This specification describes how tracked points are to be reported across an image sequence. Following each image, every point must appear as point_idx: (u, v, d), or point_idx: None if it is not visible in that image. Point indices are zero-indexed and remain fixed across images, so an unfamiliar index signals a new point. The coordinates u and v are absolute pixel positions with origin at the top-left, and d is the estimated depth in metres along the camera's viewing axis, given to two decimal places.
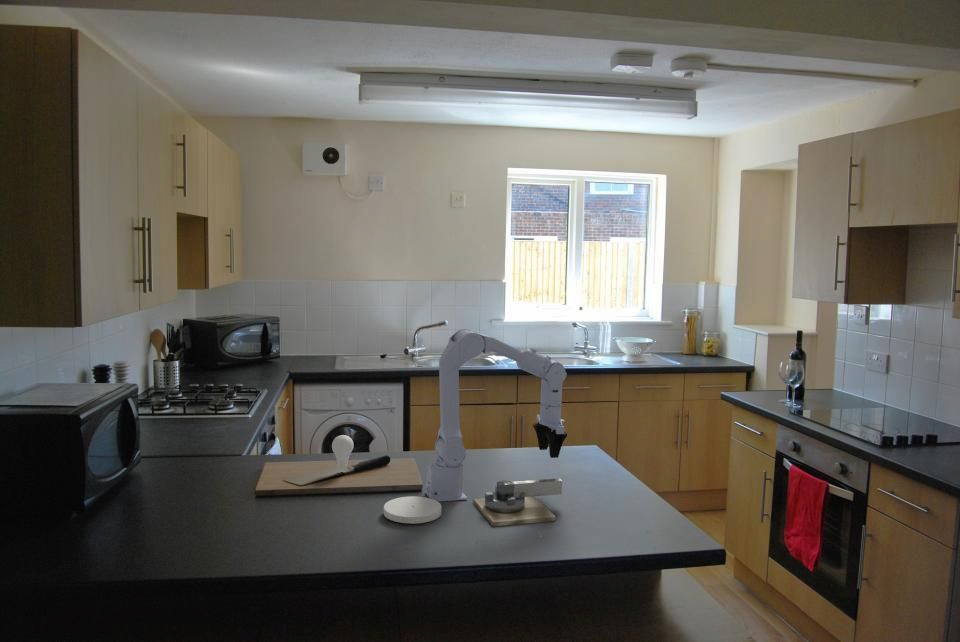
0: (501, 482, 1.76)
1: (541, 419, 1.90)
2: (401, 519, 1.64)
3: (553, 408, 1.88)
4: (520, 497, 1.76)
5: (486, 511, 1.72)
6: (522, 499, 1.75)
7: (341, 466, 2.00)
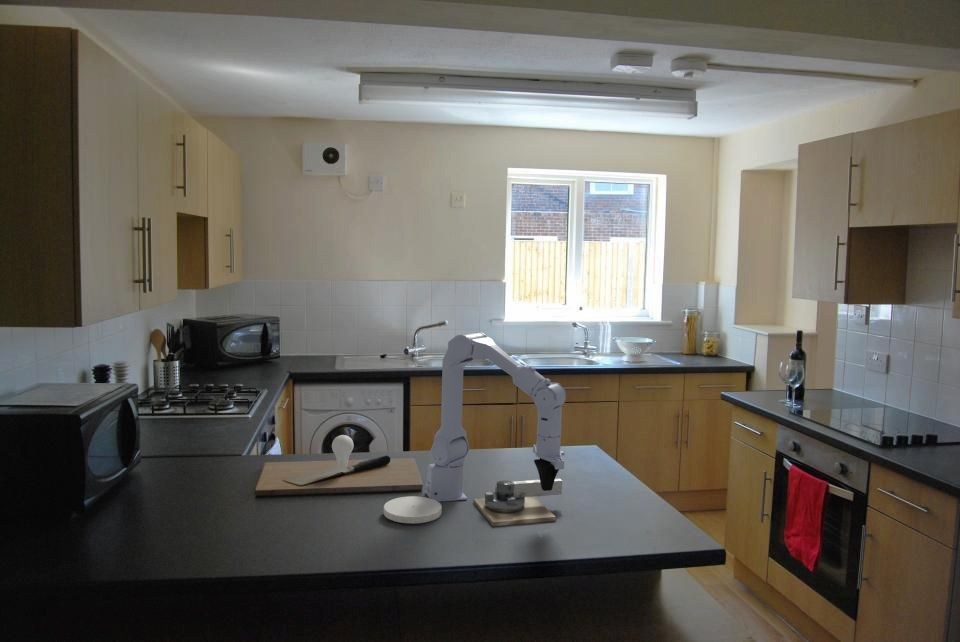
0: (501, 482, 1.76)
1: (538, 451, 1.67)
2: (401, 519, 1.64)
3: (551, 439, 1.65)
4: (520, 497, 1.76)
5: (486, 511, 1.72)
6: (522, 499, 1.75)
7: (341, 466, 2.00)
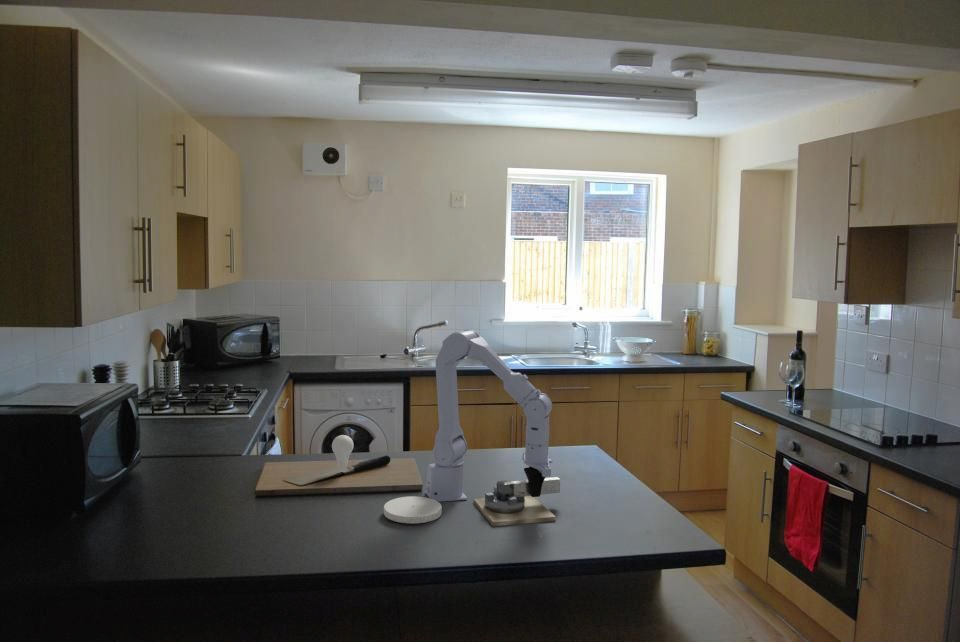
0: (501, 482, 1.76)
1: (526, 459, 1.74)
2: (401, 519, 1.64)
3: (539, 448, 1.73)
4: (520, 497, 1.76)
5: (486, 511, 1.72)
6: (522, 498, 1.75)
7: (341, 466, 2.00)
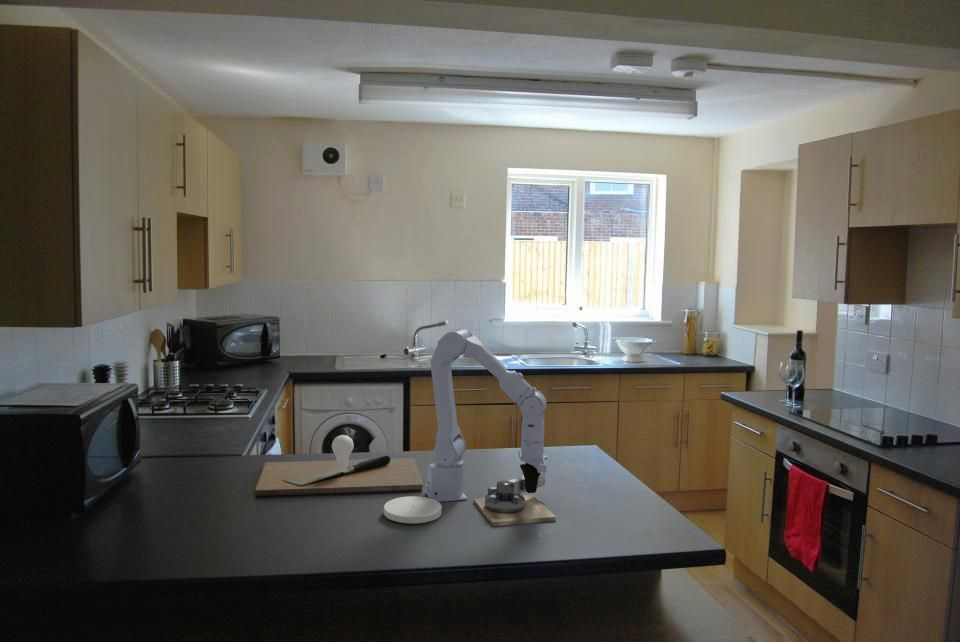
0: (500, 482, 1.76)
1: (522, 456, 1.77)
2: (401, 519, 1.64)
3: (535, 444, 1.75)
4: (517, 494, 1.78)
5: (486, 511, 1.72)
6: (520, 496, 1.77)
7: (341, 466, 2.00)
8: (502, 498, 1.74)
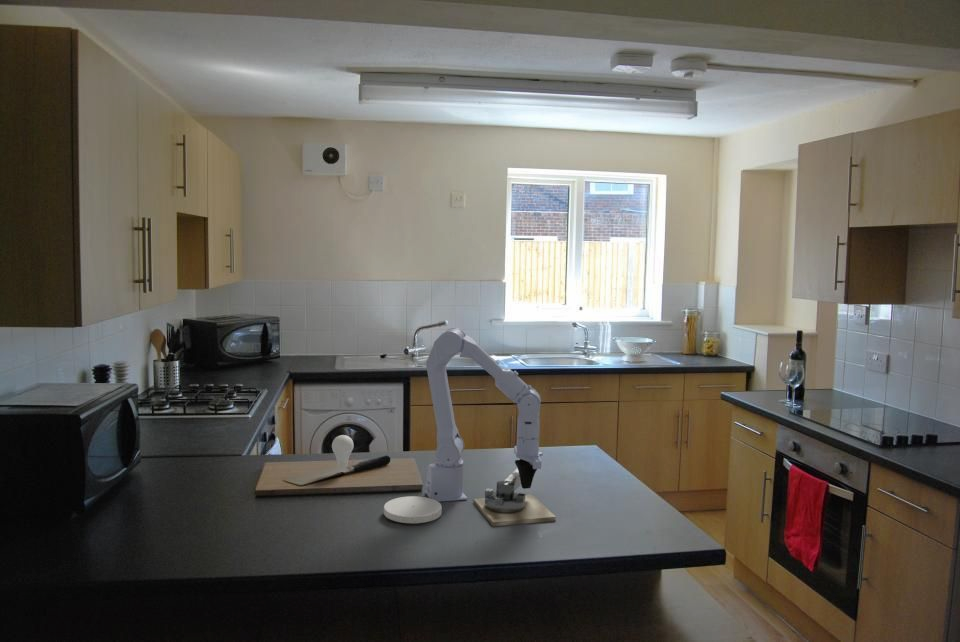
0: (500, 483, 1.75)
1: (518, 452, 1.80)
2: (401, 519, 1.64)
3: (530, 441, 1.78)
4: None
5: (486, 511, 1.72)
6: (516, 494, 1.79)
7: (341, 466, 2.00)
8: (506, 498, 1.73)
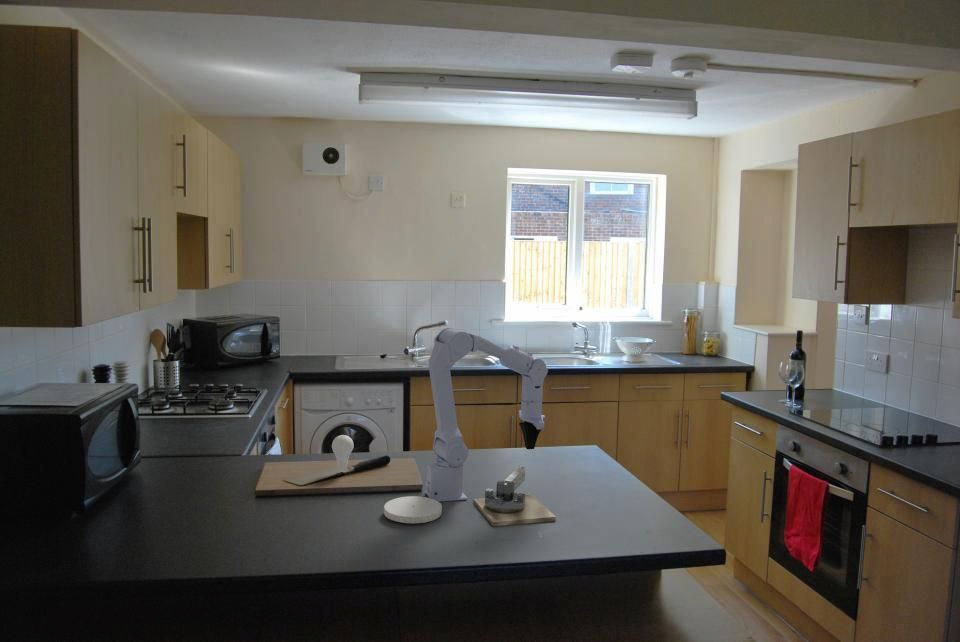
0: (500, 483, 1.75)
1: (522, 415, 1.93)
2: (401, 519, 1.64)
3: (534, 404, 1.91)
4: None
5: (486, 511, 1.72)
6: (516, 494, 1.79)
7: (341, 466, 2.00)
8: (506, 498, 1.73)
